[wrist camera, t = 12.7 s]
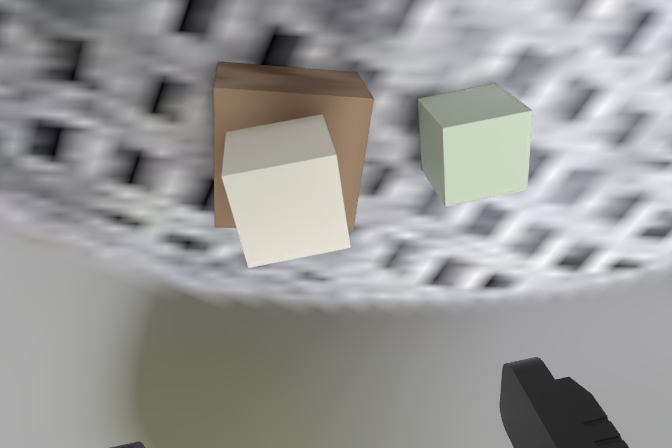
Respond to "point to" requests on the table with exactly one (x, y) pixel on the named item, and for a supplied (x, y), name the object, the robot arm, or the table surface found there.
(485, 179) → the sage green cube
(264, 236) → the cream cube
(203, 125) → the table surface
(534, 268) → the table surface
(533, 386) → the robot arm
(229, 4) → the table surface
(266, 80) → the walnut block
